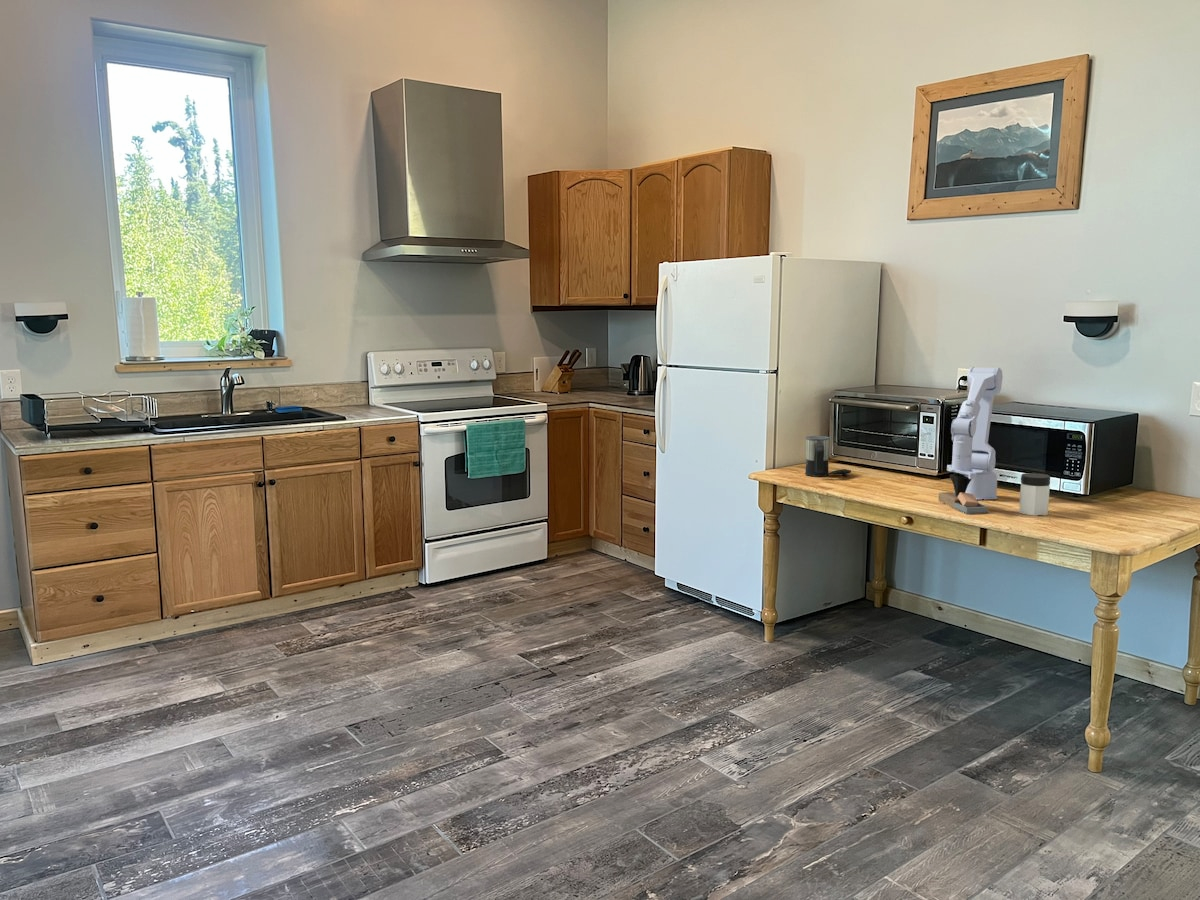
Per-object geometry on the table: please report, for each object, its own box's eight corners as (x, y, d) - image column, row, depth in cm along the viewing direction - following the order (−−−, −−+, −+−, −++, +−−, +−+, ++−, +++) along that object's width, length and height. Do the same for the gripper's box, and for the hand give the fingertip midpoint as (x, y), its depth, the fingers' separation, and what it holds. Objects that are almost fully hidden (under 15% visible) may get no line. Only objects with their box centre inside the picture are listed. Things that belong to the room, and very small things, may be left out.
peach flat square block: (969, 498, 279) (972, 493, 278) (975, 507, 275) (978, 502, 274) (957, 496, 278) (960, 492, 277) (963, 506, 274) (966, 501, 273)
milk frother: (800, 473, 341) (801, 436, 338) (838, 471, 343) (839, 434, 341) (816, 480, 327) (817, 441, 324) (854, 478, 330) (856, 439, 327)
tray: (974, 507, 280) (975, 501, 279) (987, 513, 272) (988, 507, 272) (954, 508, 279) (954, 502, 279) (966, 514, 272) (966, 508, 271)
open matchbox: (958, 500, 290) (958, 491, 289) (974, 507, 280) (975, 498, 279) (938, 501, 289) (938, 492, 289) (954, 508, 279) (954, 499, 278)
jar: (1018, 508, 277) (1020, 471, 275) (1047, 510, 274) (1049, 473, 272) (1019, 515, 269) (1021, 477, 267) (1048, 517, 266) (1051, 479, 264)
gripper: (939, 451, 283) (937, 492, 286) (961, 459, 269) (959, 502, 272) (959, 451, 284) (957, 491, 286) (983, 458, 270) (980, 501, 272)
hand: (959, 496), depth 279 cm, fingers closed
